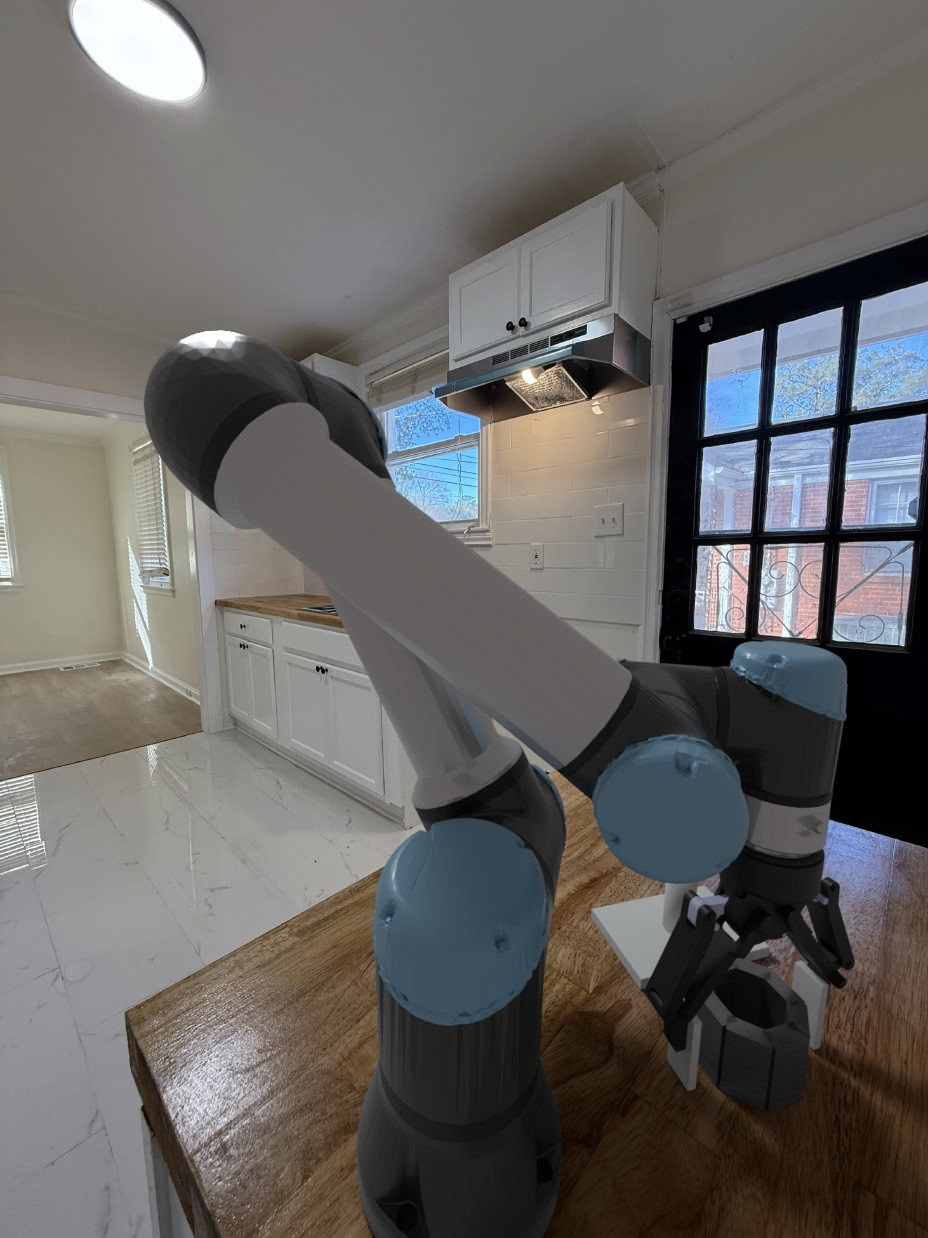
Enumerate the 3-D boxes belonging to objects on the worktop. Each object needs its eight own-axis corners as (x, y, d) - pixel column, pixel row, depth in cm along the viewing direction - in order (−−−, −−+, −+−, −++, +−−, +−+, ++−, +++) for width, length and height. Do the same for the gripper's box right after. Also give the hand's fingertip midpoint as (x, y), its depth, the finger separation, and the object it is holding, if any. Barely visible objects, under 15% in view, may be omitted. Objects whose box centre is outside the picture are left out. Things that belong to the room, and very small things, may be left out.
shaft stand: (640, 989, 51) (645, 924, 50) (591, 917, 61) (594, 861, 59) (768, 956, 55) (775, 895, 54) (703, 894, 65) (708, 840, 64)
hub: (740, 1122, 40) (748, 1058, 39) (670, 1022, 48) (675, 967, 47) (825, 1092, 42) (834, 1030, 41) (744, 1001, 50) (750, 948, 49)
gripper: (669, 890, 34) (648, 1145, 38) (932, 836, 41) (893, 1059, 44) (610, 829, 42) (598, 1048, 45) (841, 790, 48) (814, 985, 51)
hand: (744, 1054), depth 45 cm, fingers open, 12 cm apart
